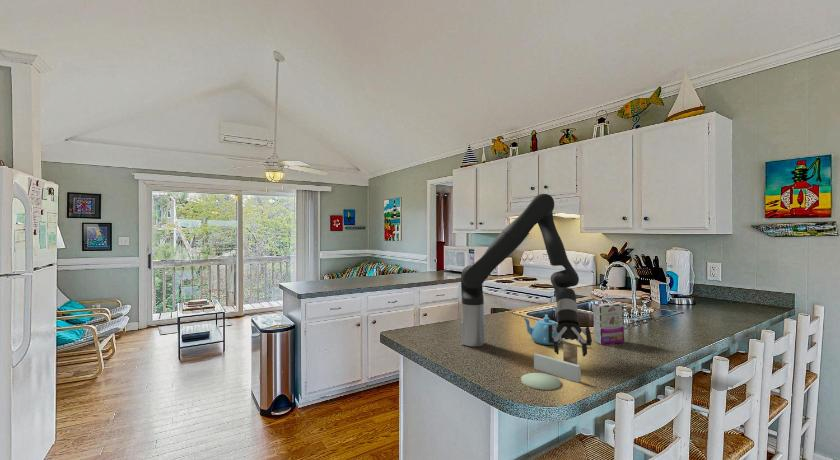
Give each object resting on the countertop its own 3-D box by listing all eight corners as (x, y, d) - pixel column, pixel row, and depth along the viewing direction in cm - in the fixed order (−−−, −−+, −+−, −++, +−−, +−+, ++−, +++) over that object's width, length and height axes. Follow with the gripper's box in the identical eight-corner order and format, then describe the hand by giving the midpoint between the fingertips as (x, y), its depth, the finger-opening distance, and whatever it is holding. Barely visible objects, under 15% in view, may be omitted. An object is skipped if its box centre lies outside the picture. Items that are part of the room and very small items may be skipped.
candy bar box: (616, 339, 162) (615, 301, 162) (624, 343, 157) (623, 304, 157) (593, 341, 159) (592, 303, 159) (601, 345, 154) (600, 305, 154)
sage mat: (520, 387, 114) (520, 385, 114) (521, 373, 125) (521, 371, 125) (562, 392, 110) (562, 389, 110) (559, 376, 122) (559, 375, 122)
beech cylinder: (564, 370, 127) (563, 346, 128) (563, 365, 132) (562, 342, 132) (578, 371, 126) (577, 347, 126) (576, 366, 130) (576, 343, 130)
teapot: (545, 348, 151) (544, 323, 151) (520, 339, 165) (520, 316, 165) (572, 344, 157) (571, 319, 157) (546, 335, 171) (546, 312, 171)
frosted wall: (534, 368, 129) (533, 354, 129) (536, 367, 130) (536, 353, 130) (578, 382, 117) (578, 366, 117) (580, 381, 118) (580, 365, 118)
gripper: (547, 307, 139) (549, 347, 128) (588, 309, 135) (594, 350, 124) (547, 318, 144) (548, 357, 133) (587, 320, 140) (592, 361, 129)
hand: (570, 354), depth 128 cm, fingers open, 8 cm apart
